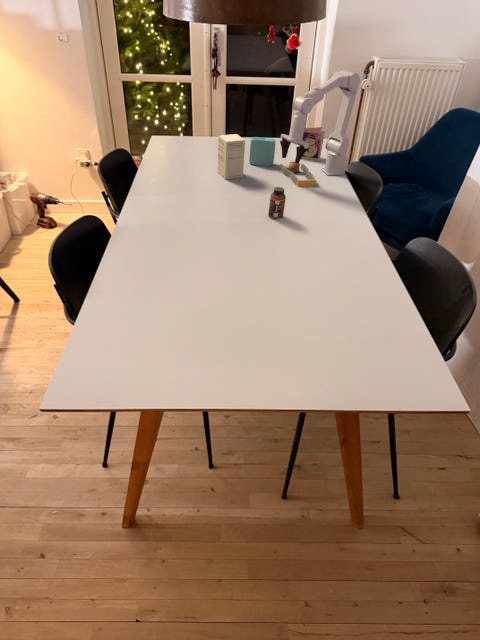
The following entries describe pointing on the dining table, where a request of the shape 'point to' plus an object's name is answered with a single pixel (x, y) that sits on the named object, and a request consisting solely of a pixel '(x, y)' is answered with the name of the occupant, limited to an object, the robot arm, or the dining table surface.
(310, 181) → the keyhole track
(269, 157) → the data package
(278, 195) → the supplement bottle
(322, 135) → the greeting card
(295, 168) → the tan rounded capsule
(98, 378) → the dining table surface
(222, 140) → the supplement box
